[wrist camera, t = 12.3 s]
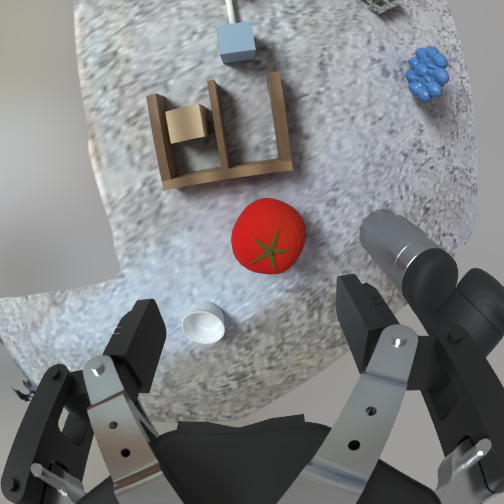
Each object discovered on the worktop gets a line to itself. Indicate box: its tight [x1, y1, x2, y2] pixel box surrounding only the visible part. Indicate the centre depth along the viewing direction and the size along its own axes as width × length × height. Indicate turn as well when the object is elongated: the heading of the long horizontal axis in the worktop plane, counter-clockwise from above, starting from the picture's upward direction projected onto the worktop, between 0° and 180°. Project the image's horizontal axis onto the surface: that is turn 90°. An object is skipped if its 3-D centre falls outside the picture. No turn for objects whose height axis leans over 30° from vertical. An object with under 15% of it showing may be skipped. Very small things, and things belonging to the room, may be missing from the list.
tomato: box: [231, 198, 306, 274], centre depth 44 cm, size 11×12×10 cm
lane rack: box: [146, 71, 293, 191], centre depth 39 cm, size 20×16×4 cm
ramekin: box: [181, 302, 225, 344], centre depth 55 cm, size 9×9×4 cm
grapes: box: [406, 46, 449, 102], centre depth 30 cm, size 12×7×12 cm, turn 168°
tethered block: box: [216, 0, 256, 64], centre depth 29 cm, size 5×17×6 cm, turn 8°
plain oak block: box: [165, 104, 210, 144], centre depth 38 cm, size 5×5×6 cm
